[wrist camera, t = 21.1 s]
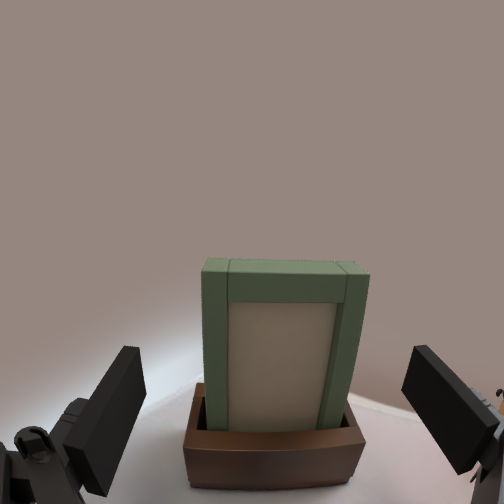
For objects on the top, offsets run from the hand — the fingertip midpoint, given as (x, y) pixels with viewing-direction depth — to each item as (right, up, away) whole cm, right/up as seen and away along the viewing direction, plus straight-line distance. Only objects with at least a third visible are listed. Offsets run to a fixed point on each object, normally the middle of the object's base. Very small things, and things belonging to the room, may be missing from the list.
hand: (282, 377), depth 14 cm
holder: (0, -9, +5) cm, 10 cm away
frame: (0, -8, +5) cm, 9 cm away
